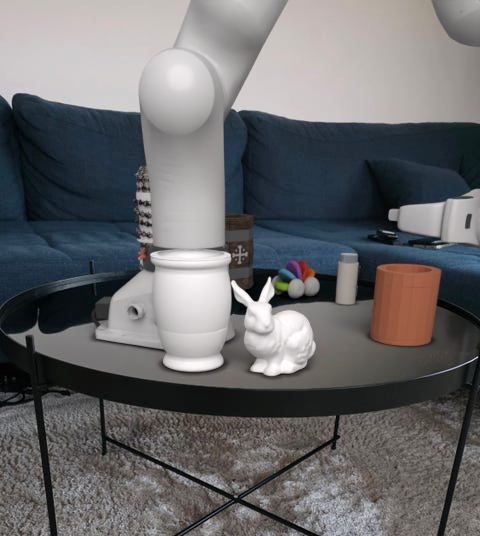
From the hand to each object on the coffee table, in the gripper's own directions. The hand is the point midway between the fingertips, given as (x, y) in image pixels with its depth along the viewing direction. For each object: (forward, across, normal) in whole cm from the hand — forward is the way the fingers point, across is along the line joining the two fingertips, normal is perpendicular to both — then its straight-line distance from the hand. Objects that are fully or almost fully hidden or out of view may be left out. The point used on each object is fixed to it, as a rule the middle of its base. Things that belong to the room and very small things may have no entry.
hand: (407, 213), depth 104 cm
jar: (0, +48, +18) cm, 51 cm away
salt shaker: (+12, 0, +18) cm, 22 cm away
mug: (+43, +10, +18) cm, 48 cm away
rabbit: (-8, +40, +18) cm, 45 cm away
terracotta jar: (-10, +14, +18) cm, 25 cm away
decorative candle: (+37, +28, +18) cm, 50 cm away
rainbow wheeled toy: (+24, +3, +18) cm, 30 cm away
